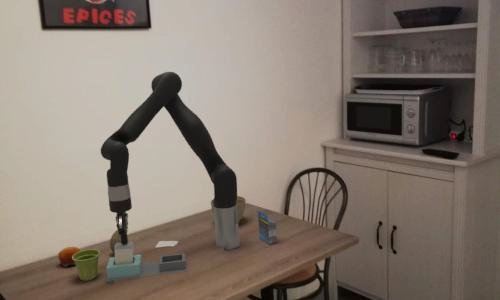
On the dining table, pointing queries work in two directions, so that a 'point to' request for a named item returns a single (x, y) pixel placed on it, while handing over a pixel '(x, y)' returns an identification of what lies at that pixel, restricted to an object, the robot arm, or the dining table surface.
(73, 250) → the fruit
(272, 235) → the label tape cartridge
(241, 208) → the planter bowl
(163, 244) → the external hard drive
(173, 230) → the dining table surface
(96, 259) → the plant pot
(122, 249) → the plug
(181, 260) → the panel
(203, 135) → the robot arm
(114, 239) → the decorative egg
